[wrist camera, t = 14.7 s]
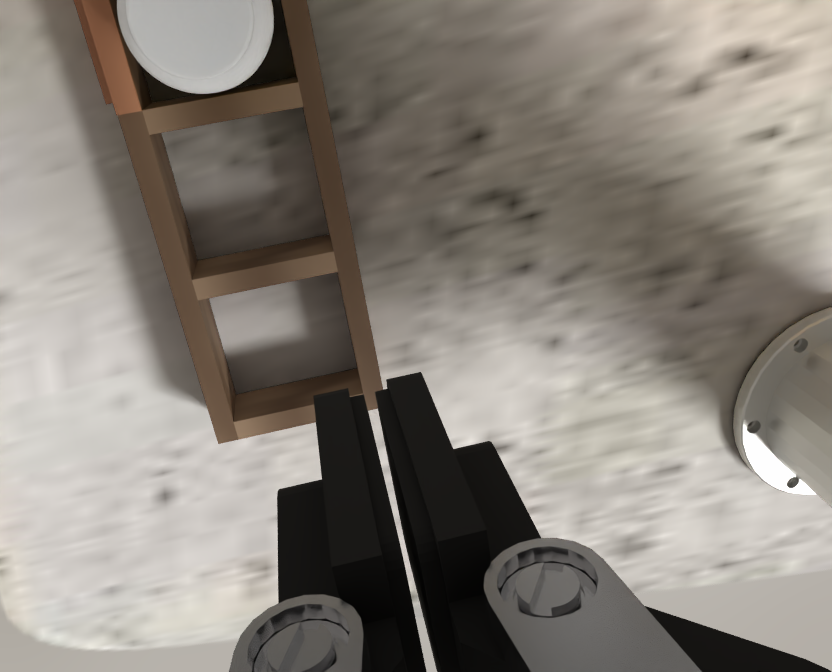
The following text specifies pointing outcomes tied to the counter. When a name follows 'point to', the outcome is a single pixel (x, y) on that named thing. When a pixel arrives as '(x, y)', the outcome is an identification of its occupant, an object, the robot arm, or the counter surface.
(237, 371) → the counter surface
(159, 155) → the box
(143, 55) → the supplement bottle
